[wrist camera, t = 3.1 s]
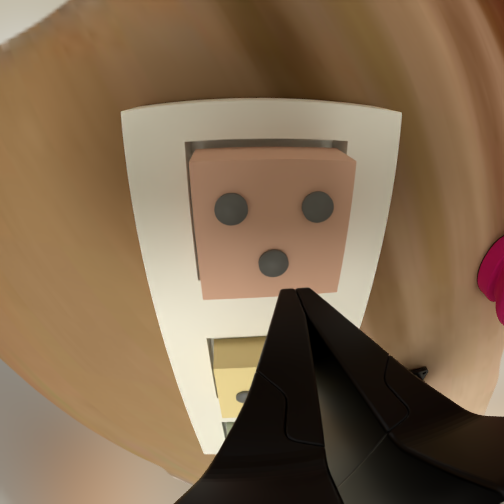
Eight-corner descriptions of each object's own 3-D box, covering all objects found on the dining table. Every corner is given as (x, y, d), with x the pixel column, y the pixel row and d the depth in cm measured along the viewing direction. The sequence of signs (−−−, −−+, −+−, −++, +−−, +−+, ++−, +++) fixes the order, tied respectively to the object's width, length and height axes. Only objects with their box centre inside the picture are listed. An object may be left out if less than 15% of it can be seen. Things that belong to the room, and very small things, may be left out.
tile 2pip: (312, 332, 18) (322, 363, 16) (301, 386, 21) (307, 413, 19) (213, 339, 18) (213, 371, 15) (221, 391, 21) (222, 420, 19)
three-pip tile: (336, 148, 12) (358, 162, 10) (323, 264, 15) (338, 294, 13) (195, 149, 12) (188, 163, 10) (205, 270, 15) (202, 302, 13)
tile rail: (373, 106, 14) (402, 112, 11) (309, 424, 30) (314, 445, 28) (140, 106, 13) (120, 111, 10) (204, 431, 29) (204, 454, 27)
